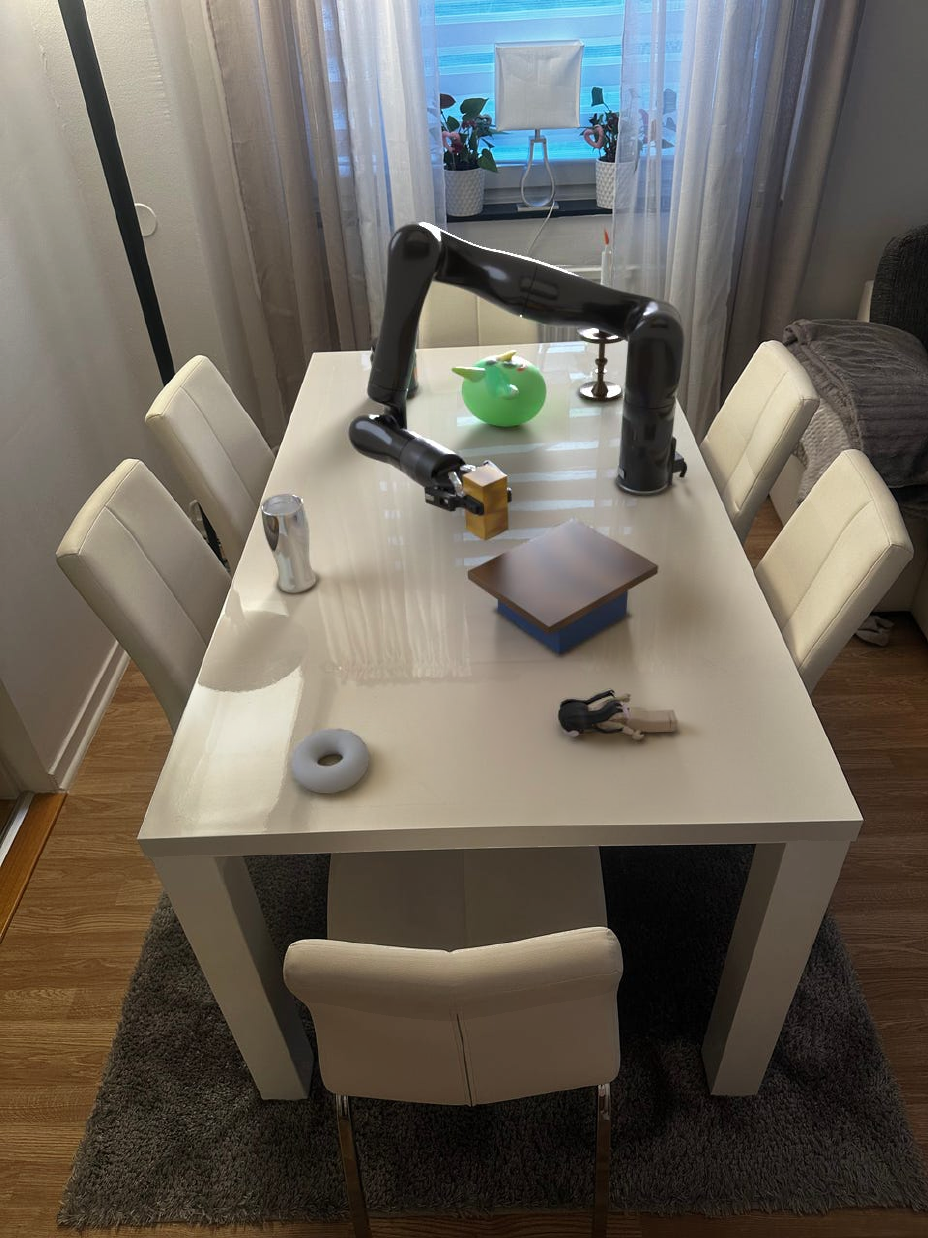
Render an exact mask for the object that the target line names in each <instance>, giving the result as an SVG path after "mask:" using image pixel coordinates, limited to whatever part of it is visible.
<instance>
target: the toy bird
mask: <svg viewBox="0 0 928 1238" xmlns="http://www.w3.org/2000/svg"><path fill="white" fill-rule="evenodd" d="M516 352H517V350H510V351H507V352H504V353H501V354H499V355H498V354H497V355H490V356H487V357H485V358H482V359H480V360H478V361H477V362H475V363H473V364H472V366H470V367H468V366H453V367H452V368H451V369H450V371H451V372H453V374H456V375H458V376H460V377H461V378H463V381H462V385H461V396H462V400H463V403H464V405H465V407H466V408H467V409H468V411H469V412H470V413H471V414H472V415H473V416H474V417H476V418H477V419H478V420H480V421H482V422H484V423H486V424H489V425H492V426H496V427H515V426H520V425H523V424H525V423H528V422H529V421H531V420H533V419H534V418H535V417H536V416H537V415H538V414H539V413H540V412H541V410H542V408H543V407H544V404H545V401H546V398H547V385H546V381H545V378H544V376H543V374H542V373H541V372H540V370H539V369H538V368H537V366H535V365H534V364H533V363H531V362H529V361H528V360H526V359H524V358H522V357H519V356H515V355H516Z"/></svg>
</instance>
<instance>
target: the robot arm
mask: <svg viewBox="0 0 928 1238" xmlns="http://www.w3.org/2000/svg"><path fill="white" fill-rule="evenodd" d="M386 249H387V250H386V251H387V253H386V254H387V260H386V261H387V262H386V263H387V264H386V270H387V271H386V286H385V287H386V288H385V296H384V297H385V299H384V306H383V312H382V318H381V323H380V327H379V332H378V336H377V337H378V340H377V344H376V349H375V353H374V357H373V362H372V367H370V373H369V378H368V382H367V388H366V394H367V397H368V398H369V399H370V400H371V401H373V402H375V403H377V404H379V405H382V407H383V408H382V409H383V412H382V414H381V413H363V414H358V415H357V416H356V417H354V418H353V419H352V420H351V421H350V423H349V426H348V429H347V433H348V434H347V436H348V440H349V443H350V445H351V447H352V448H353V449H354V450H355V451H356V452H357V453H358V454H360V455H362V456H363V457H366V458H369V459H370V460H374V461H377V462H380V463H384V464H386V465H390V466H392V467H394V468H395V469H397V470H398V471H400V472H401V473H403V474H404V475H406V476H407V477H408V478H409V479H411V480H412V481H413V482H415V483H416V484H418V485H420V486H421V487H423V491H424V502H425V503H426V504H429V505H431V506H434V507H436V508H440V509H442V510H445V511H447V512H450V513H452V512H455V511H456V510H457V509H458V508H459V509H460V510H465V509H466V510H468V511H469V512H471V513H473V514H476V515H479V516H482V515H484V504H483V503H482V502H481V501H479V500H477V499H476V498H474V497H472V496H470V495H467V496H466V492H465V491H463V475H464V474H467V473H469V472H471V471H473V470H476V469H478V468H480V467H481V466H479V467H476V466H475V465H471V464H467V463H466V462H465V460H464V459H463V458H462V456H460V455H459V454H458V453H456V452H454V451H453V450H451V449H448V448H447V447H445V446H443V445H442V444H440V443H438V442H436V441H434V440H432V439H428V438H426V437H424V436H422V435H421V434H418V433H417V432H415V431H413V430H410V429H408V409H407V405H408V404H407V398H406V395H407V391H408V386H409V382H410V377H411V373H412V368H413V363H414V357H415V352H416V350H417V349H416V348H417V339H418V332H419V325H420V321H421V315H422V312H423V309H424V304H425V302H426V298H427V296H428V294H429V292H430V288H431V286H432V284H433V282H434V283H438V284H443V285H446V286H451V287H454V288H457V289H460V290H464V291H466V292H469V293H471V294H473V295H475V296H477V297H478V298H480V299H482V300H484V301H486V302H487V303H489V304H491V305H492V306H495V307H497V308H499V309H501V310H503V311H504V312H507V313H509V314H511V315H513V316H516V317H519V318H521V319H525V320H528V321H531V322H534V323H536V324H540V325H544V326H548V327H556V328H579V327H580V328H592V329H596V330H600V331H603V332H606V333H609V334H611V335H614V336H616V337H619V338H621V339H623V341H624V342H625V341H626V342H627V347H626V348H627V349H626V365H625V378H624V380H625V381H624V384H623V398H622V411H621V412H622V414H621V429H620V443H619V456H618V457H619V458H618V465H617V466H616V467H617V469H616V472H617V479H616V482H617V487H619V488H620V489H621V490H622V491H624V492H626V493H629V494H632V495H636V496H652V495H657V494H659V493H663V491H665V490H666V489H667V488H668V487H671V486H673V477H674V474H675V473H679V474H678V478H681V479H684V478H685V476H686V473H687V471H688V465H687V462H686V461H685V457H683V456H682V455H681V454H680V453H679V452H678V451H677V438H676V437H675V436H673V435H674V427H675V418H676V417H675V416H676V406H677V398H678V390H679V387H680V384H681V376H682V369H683V362H684V361H683V360H684V350H685V340H686V339H685V330H684V325H683V319H682V317H681V314H680V313H679V311H678V310H677V308H676V307H675V306H674V305H673V304H671V303H670V302H668V301H666V300H664V299H660V298H657V297H651V296H647V295H642V294H637V293H633V292H628V291H625V290H624V291H623V290H619V289H616V288H612V287H610V288H609V287H606V286H604V285H601V283H599V282H596V281H594V280H591V279H588V278H586V277H583V276H580V275H577V274H574V273H572V272H568V271H567V270H564V269H562V268H559V267H556V266H554V265H550V264H548V263H545V262H541V261H539V260H535V259H532V258H528V257H524V256H522V255H517V254H513V253H510V252H505V251H501V250H496V249H491V248H487V247H482V246H479V245H476V244H473V243H472V242H468V241H467V240H463V239H461V238H459V237H457V236H455V235H452V234H450V233H448V232H446V231H445V230H442V229H440V228H438V227H437V226H434V225H432V224H430V223H428V222H424V221H417V220H416V221H411V222H408V223H405V224H404V225H401V226H400V227H398V228H397V229H396V230H395V231H394V233H393V234H392V235H391V237H390V239H389V241H388V244H387V248H386ZM485 465H489V466H490V467H492V468H494V469H496V470H498V471H499V472H501V473H503V471H501V470H500V469H499V467H497V465H495V464H494V463H493V462H492V461H490V460H485V461H484V462H483V466H485ZM507 491H508V504H510V503H511V502H512V501H513V493H512V489H511V488H510V487H508V486H507ZM446 501H447V502H446Z"/></svg>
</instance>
